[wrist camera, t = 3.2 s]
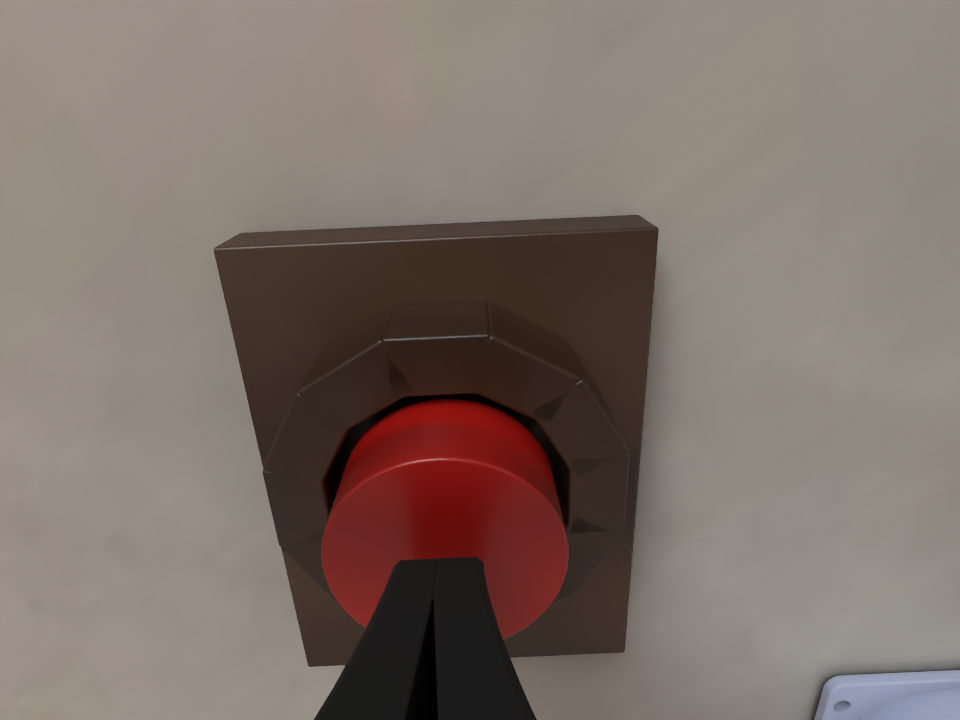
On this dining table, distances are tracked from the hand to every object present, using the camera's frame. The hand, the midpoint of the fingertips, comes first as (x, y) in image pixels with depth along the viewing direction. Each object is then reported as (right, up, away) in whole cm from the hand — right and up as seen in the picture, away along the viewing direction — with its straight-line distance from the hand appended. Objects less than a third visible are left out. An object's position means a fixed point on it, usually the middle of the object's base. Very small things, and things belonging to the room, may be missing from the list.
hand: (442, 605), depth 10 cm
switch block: (0, +2, +6) cm, 6 cm away
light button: (0, +1, +3) cm, 3 cm away
